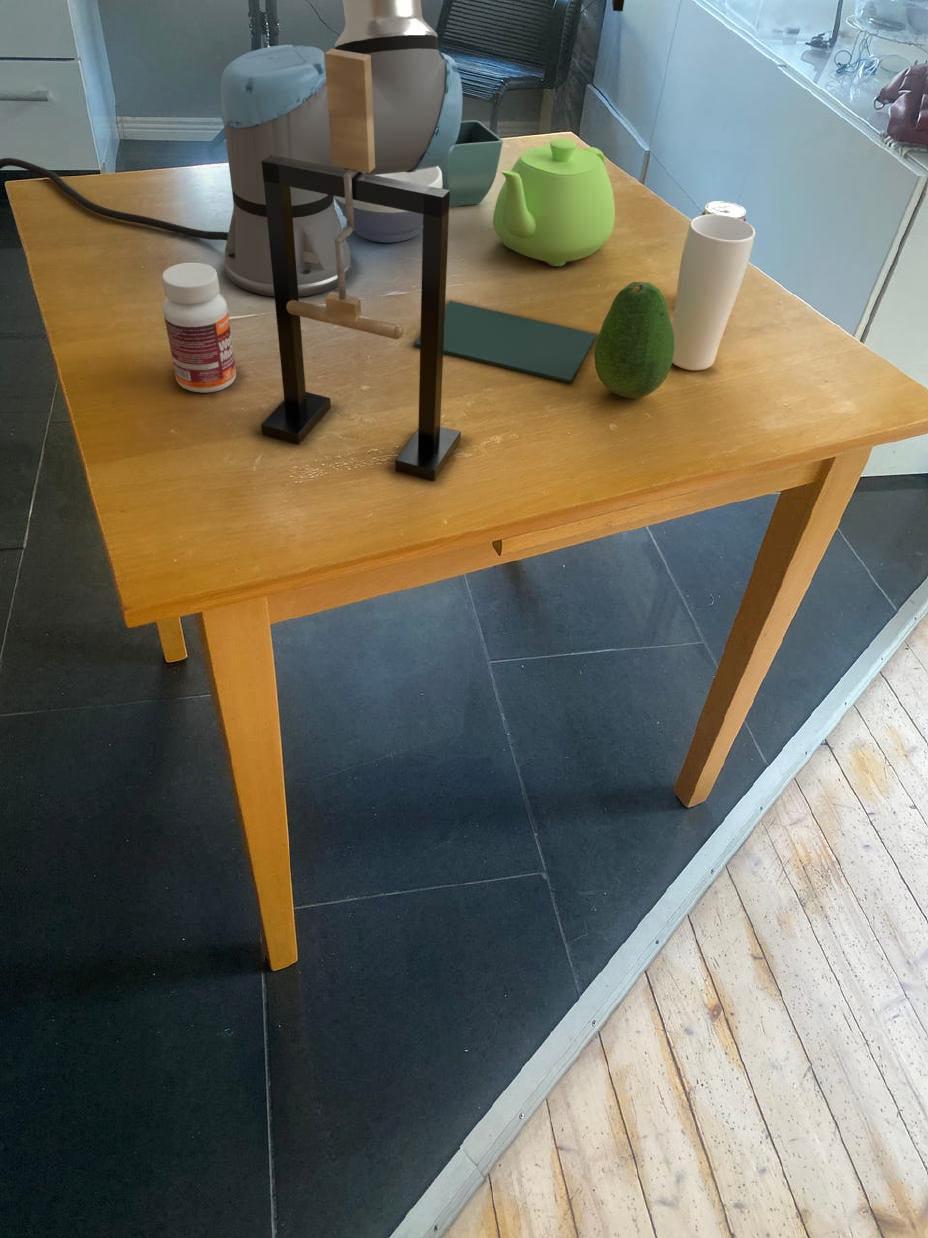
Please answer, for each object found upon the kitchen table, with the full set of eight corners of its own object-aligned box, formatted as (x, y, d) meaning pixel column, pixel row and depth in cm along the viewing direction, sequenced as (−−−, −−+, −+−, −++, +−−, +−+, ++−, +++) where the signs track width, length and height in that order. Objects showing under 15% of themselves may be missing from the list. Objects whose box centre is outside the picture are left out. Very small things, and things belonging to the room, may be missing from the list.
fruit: (651, 422, 97) (676, 313, 89) (578, 402, 99) (595, 293, 90) (671, 385, 102) (696, 279, 94) (602, 367, 104) (620, 261, 96)
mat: (414, 346, 105) (415, 343, 105) (450, 303, 113) (450, 300, 112) (570, 383, 102) (570, 380, 101) (596, 336, 109) (596, 333, 109)
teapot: (541, 296, 115) (554, 185, 106) (447, 256, 122) (452, 149, 112) (638, 242, 128) (657, 139, 118) (548, 208, 134) (560, 108, 125)
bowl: (448, 252, 122) (451, 192, 117) (335, 255, 120) (332, 193, 115) (432, 206, 132) (434, 149, 127) (327, 208, 130) (325, 149, 125)
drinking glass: (683, 381, 103) (717, 245, 92) (647, 351, 107) (675, 218, 97) (732, 368, 106) (770, 235, 95) (695, 340, 110) (728, 209, 99)
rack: (261, 434, 92) (230, 169, 74) (295, 398, 97) (273, 140, 79) (434, 481, 88) (444, 213, 71) (460, 441, 93) (476, 180, 75)
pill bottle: (238, 392, 97) (224, 287, 89) (176, 397, 96) (156, 290, 88) (234, 361, 101) (221, 258, 93) (175, 365, 100) (156, 261, 92)
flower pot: (473, 184, 139) (477, 118, 132) (499, 208, 133) (504, 140, 127) (417, 190, 136) (419, 123, 130) (441, 215, 130) (444, 146, 124)
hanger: (284, 315, 82) (252, 60, 67) (313, 284, 85) (289, 35, 70) (400, 343, 80) (393, 85, 65) (425, 309, 83) (424, 58, 68)
